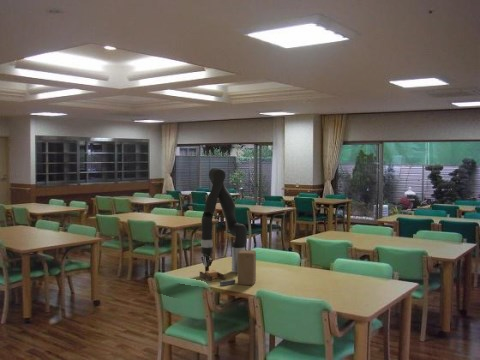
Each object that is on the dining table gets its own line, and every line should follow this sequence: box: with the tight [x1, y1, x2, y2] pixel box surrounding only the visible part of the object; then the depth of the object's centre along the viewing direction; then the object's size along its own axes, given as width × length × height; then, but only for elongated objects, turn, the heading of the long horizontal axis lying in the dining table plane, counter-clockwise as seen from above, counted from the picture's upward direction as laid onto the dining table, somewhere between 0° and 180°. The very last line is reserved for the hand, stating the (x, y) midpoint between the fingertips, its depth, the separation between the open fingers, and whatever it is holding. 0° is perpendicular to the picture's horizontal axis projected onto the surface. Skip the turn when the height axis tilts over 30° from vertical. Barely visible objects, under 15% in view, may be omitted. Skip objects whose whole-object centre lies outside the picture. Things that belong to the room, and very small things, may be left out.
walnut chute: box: [199, 269, 225, 282], centre depth 312 cm, size 10×16×3 cm, turn 31°
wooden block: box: [237, 249, 257, 286], centre depth 297 cm, size 10×10×20 cm
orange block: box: [204, 269, 218, 280], centre depth 313 cm, size 6×6×4 cm
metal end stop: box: [219, 279, 236, 287], centre depth 294 cm, size 10×2×2 cm, turn 121°
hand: (207, 271), depth 318 cm, fingers closed
